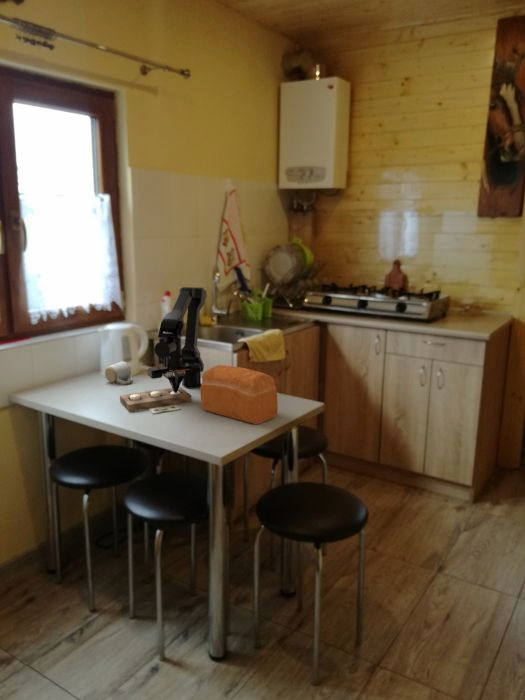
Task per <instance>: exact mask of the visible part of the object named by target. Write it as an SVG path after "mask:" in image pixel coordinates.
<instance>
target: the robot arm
mask: <svg viewBox="0 0 525 700" xmlns="http://www.w3.org/2000/svg"><path fill="white" fill-rule="evenodd" d="M206 299H207V291H206V290H205V288H204V287H200V286H199V287H198V286H196V287H195V286H193V287H192V286H182V287H180V289H179V294H178V297H177V299H176V300H175V303H174V305H173V307H172V309H171V311H169V312H168V313H166V314H165V315H164V317H163V318H162V319H161V322H160V325H159V326H160V327H159V330H158V334H157V338H158V341H159V342H157V343H156V344H155V345H154V347H153V349H154V350H153V351H154V353H155V355H156V364H157V365H160V366H161V367H162V368H160V367H159V366H157V365H156V366H153V367H152V366H151V367H148V369H147V371H146V372H147V377H149V378H151V379H153V380H156V379H161V378H162V377H164V378H166V379H167V380H168V381H169V383H170V387H171V388H172V389H173V391H174V393H177V391H178V388H179V387H181V386H180V385H182V386H184V388H186V389H191V388H198V387H200V388H201V384H202V381H201V380H202V376H201V373H202V372H203V373H204V368H205V364H204V362H203V360H202V358H201V352H200V350H199V348H198V337H199V324H200V314H201V313H200V312H201V309H202V308H203V307H204V305H205V304H206V303H205V302H206ZM186 313H187V315H186ZM185 315H186V316H187V317H186V326H185V322H184V319H185ZM185 327H186V329H185ZM184 329H185V337H184V345H183V347H182V337H183V332H184Z"/></svg>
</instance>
